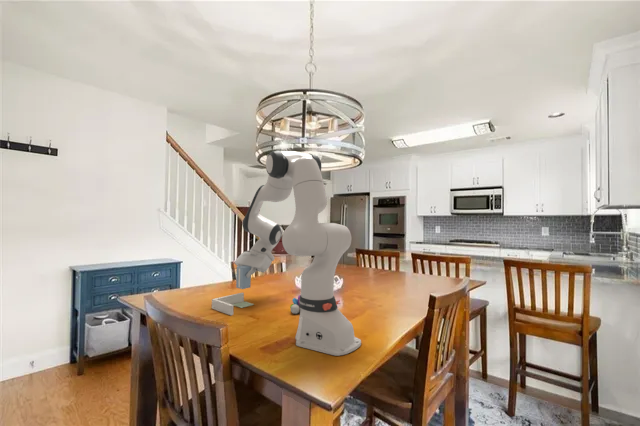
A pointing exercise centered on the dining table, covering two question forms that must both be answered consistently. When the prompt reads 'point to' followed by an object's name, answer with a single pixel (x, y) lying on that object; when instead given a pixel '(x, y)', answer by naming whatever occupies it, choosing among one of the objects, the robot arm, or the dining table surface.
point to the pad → (243, 304)
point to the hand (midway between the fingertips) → (242, 275)
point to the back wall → (231, 298)
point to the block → (243, 277)
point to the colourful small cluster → (295, 306)
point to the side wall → (223, 307)
